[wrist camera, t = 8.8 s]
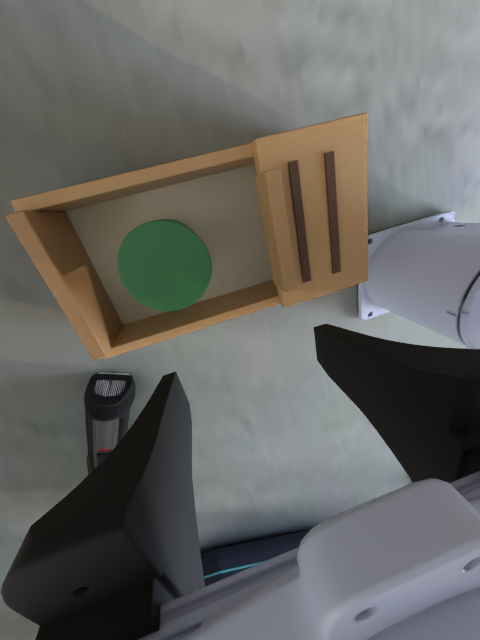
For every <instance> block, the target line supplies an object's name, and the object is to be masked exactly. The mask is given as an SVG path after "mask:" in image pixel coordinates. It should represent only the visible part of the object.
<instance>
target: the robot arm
mask: <svg viewBox="0 0 480 640" xmlns="http://www.w3.org/2000/svg"><path fill="white" fill-rule="evenodd" d="M454 222H455V212H454V211H447V212H443V213H440V214H437V215H433V216H430V217H427V218H423V219H420V220H416V221H413V222H410V223H406V224H403V225H400V226H396V227H393V228H389V229H386V230H383V231H379V232H376V233H373V234H369V235H368V240H369V239H370V242H369V243H368V281H366V282H363V283H360V284H358V304H359V318H360V319H362V320H367V319H370V318H373V317H376V316H379V315H382V314H385V313H388V312H393V313H395V314H397V315H399V316H402V317H404V318H406V319H408V320H410V321H413V322H415V323H417V324H419V325H421V326H424V327H426V328H428V329H430V330H433V331H435V332H437V333H439V334H441V335H444V336H446V337H448V338H450V339H452V340H455V341H457V342H459V343H461V344H463V345H466V349H458V348H441V347H430V346H421V345H413V344H406V343H400V342H394V341H389V340H385V339H380V338H376V337H372V336H368V335H364V334H360V333H357V332H353V331H350V330H346V329H343V328H340V327H336V326H332V325H328V324H323V325H320V326H317V327H314V333H315V342H316V352H317V360H318V362H319V363H320V365H321V366H322V367H323V369H324V370H325V372H326V373H327V374H328V376H329V377H330V378H331V379H332V380H333V381H334V382H335V383H336V384H337V385H338V386H339V387H340V389H341V390H342V391H343V392H344V393H345V394H346V395H347V396H348V397H349V398H350V399H351V400H352V401H353V402H354V403H355V404H356V405H357V407H358V408H359V409H360V410H361V411H362V412H363V413H364V415H365V416H366V417H367V419H368V420H369V421H370V422H371V424H372V425H373V426H374V428H375V429H376V430H377V432H378V433H379V434H380V436H381V437H382V438H383V440H384V441H385V443H386V444H387V445H388V447H389V448H390V449H391V451H392V452H393V454H394V455H395V457H396V458H397V459H398V461H399V462H400V464H401V465H402V467H403V468H404V470H405V471H406V473H407V474H408V476H409V477H410V479H411V480H412V482H413V483H412V484H409V485H407V486H404V487H402V488H399V489H397V490H395V491H392V492H390V493H387V494H385V495H383V496H380V497H378V498H375V499H373V500H371V501H368V502H366V503H363V504H361V505H358V506H356V507H354V508H351V509H349V510H346V511H344V512H342V513H339V514H337V515H334V516H332V517H330V518H328V519H326V520H325V521H323V522H321V523H320V524H318V525H316V526H314V527H313V528H312V529H311V530H310V531H309V532H308V533H307V534H306V536H305V537H304V538H303V539H302V540H301V543H300V546H299V547H298V548H295V549H293V550H291V551H288V552H286V553H284V554H281V555H279V556H276V557H274V558H272V559H269V560H267V561H265V562H262V563H260V564H258V565H255V566H253V567H250V568H248V569H246V570H243V571H241V572H239V573H236V574H234V575H231V576H229V577H227V578H224V579H222V580H220V581H217V582H215V583H213V584H210V585H208V586H205V582H204V575H203V568H202V561H201V553H200V545H199V537H198V529H197V521H196V512H195V503H194V493H193V483H192V421H191V413H190V405H189V401H188V399H187V397H186V394H185V392H184V390H183V387H182V385H181V383H180V380H179V378H178V376H177V373H176V372H173V373H170V374H167V375H164V376H163V377H162V379H161V381H160V382H159V384H158V386H157V387H156V389H155V391H154V393H153V394H152V396H151V398H150V399H149V401H148V403H147V404H146V406H145V408H144V409H143V410H142V412H141V413H140V415H139V416H138V418H137V419H136V421H135V422H134V424H133V425H132V427H131V428H130V429H129V431H128V432H127V433H126V434H125V436H124V437H123V438H122V439H121V441H120V442H119V443H118V444H117V445H116V447H115V448H114V449H113V450H112V451H111V452H110V453H109V454H108V455H107V456H106V458H105V459H104V460H103V461H102V462H101V463H100V464H99V465H98V466H97V467H96V468H95V469H94V470H93V471H92V472H91V473H90V474H89V475H88V476H87V477H86V478H85V479H84V480H83V481H82V482H81V483H80V484H79V485H78V486H77V487H76V488H75V489H74V490H72V491H71V492H70V493H69V494H68V495H67V496H66V497H65V498H64V499H62V500H61V501H60V502H59V503H58V504H56V505H55V506H54V507H53V508H52V509H51V510H49V511H48V512H47V513H46V514H45V515H43V516H42V517H41V518H40V519H39V520H38V521H36V522H35V523H34V524H33V525H31V527H30V529H29V531H28V533H27V535H26V537H25V539H24V541H23V543H22V545H21V547H20V549H19V551H18V553H17V555H16V558H15V560H14V562H13V564H12V566H11V568H10V570H9V572H8V574H7V576H6V578H5V580H4V582H3V585H2V589H1V594H2V597H3V600H4V602H5V604H6V605H8V606H9V607H10V608H11V609H12V610H14V611H16V612H17V613H19V614H21V615H22V616H24V617H26V618H27V619H29V620H31V621H32V622H34V623H36V624H38V625H39V626H40V628H39V631H38V634H37V637H36V639H35V640H480V223H454ZM369 312H370V313H369ZM368 313H369V315H368Z"/></svg>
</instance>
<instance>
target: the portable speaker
mask: <svg viewBox="0 0 480 640" xmlns="http://www.w3.org/2000/svg"><path fill="white" fill-rule="evenodd" d="M309 531H310V530H307V531H302V532H297V533H292V534H287V535H282V536H277V537H272V538H267V539H262V540H257V541H252V542H247V543H243V544H238V545H233V546H228V547H223V548H218V549H214V550H211V551H209V552H206V553H204V554H202V555H201V561H202V568H203V575H204V582H205V586H208V585H210V584H213V583H215V582H217V581H220V580H222V579H224V578H227V577H229V576H231V575H234V574H236V573H239V572H241V571H243V570H246V569H248V568H250V567H253V566H255V565H258V564H260V563H262V562H265V561H267V560H269V559H272V558H274V557H276V556H279V555H281V554H284V553H286V552H288V551H291V550H293V549H295V548H298V547H299V546H300V543H301V540H302V539H303V538H304V537H305V536H306V534H307V533H308V532H309Z"/></svg>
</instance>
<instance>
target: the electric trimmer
mask: <svg viewBox="0 0 480 640" xmlns="http://www.w3.org/2000/svg"><path fill="white" fill-rule="evenodd" d="M134 398H135V382H134V381H133V378H132V376H131V375H130V374H129V373H115V374H114V373H113V372H100V373H99V374H95V375H93V376H92V377H91V378H90V381H89V384H88V386H87V389H86V392H85V397H84V402H85V414H86V432H87V443H88V456H87V465H88V475H89V474H90V473H91V472H92V471H93V470H94V469H95V468H96V467H97V466H98V465H99V464H100V463H101V462H102V461H103V460H104V459H105V458H106V456H107V455H108V454H109V453H110V452H111V451H112V450H113V449H114V448H115V447H116V445H117V444H118V443H119V442H120V441H121V439H122V438H123V437H124V436H125V434H126V433H127V427H128V419H129V411H130V407H131V405H132V403H133V400H134Z"/></svg>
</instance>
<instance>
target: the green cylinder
mask: <svg viewBox="0 0 480 640" xmlns="http://www.w3.org/2000/svg"><path fill="white" fill-rule="evenodd" d="M117 267H118V273H119V276H120V279H121V282H122V284H123V285H124V287H125V289H126V290H127V291H128V293H129V294H130V295H131V296H132V297H133V298H134V299H136V300H137V301H138V302H140V303H141V304H143V305H145V306H147V307H149V308H152V309H155V310H159V311H177V310H181V309H184V308H187V307H189V306H190V305H192V304H194V303H195V302H197V301H198V300H199V299H200V298H201V297H202V295H203V294H204V293H205V291H206V290H207V288H208V286H209V283H210V280H211V275H212V262H211V258H210V254H209V252H208V249H207V247H206V246H205V244H204V243H203V241H202V240H201V239H200V237H199V236H198V235H197V234H196V233H195V232H194V231H193V230H192V229H191V228H190V227H189V226H187V225H186V224H184V223H182V222H180V221H177V220H173V219H160V220H155V221H149V222H146V223H143V224H141V225H139V226H137V227H136V228H135V229H133V230H132V231H131V232H130V233H129V234H128V235H127V236H126V237H125V239H124V240H123V242H122V244H121V246H120V249H119V252H118V257H117Z"/></svg>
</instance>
